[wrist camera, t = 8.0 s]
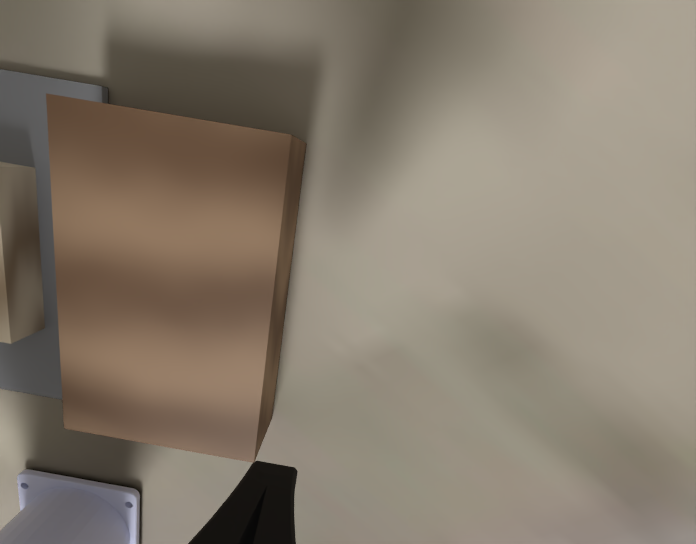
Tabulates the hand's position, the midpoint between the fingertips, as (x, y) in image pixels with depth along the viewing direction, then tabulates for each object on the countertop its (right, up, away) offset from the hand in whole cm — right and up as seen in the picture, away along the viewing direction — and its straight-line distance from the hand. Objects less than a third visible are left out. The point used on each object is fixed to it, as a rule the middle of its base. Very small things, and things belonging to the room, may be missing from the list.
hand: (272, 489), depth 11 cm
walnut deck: (-6, +6, +8) cm, 12 cm away
